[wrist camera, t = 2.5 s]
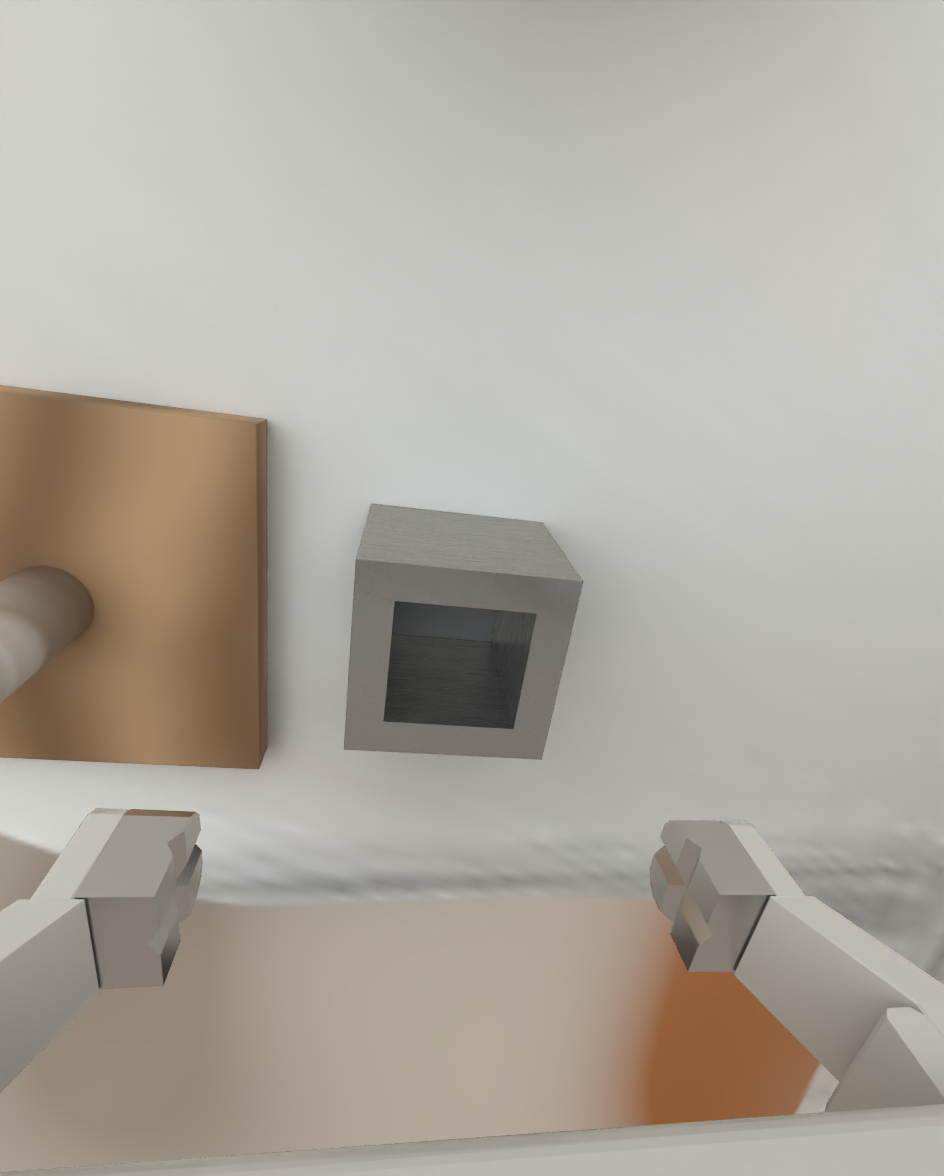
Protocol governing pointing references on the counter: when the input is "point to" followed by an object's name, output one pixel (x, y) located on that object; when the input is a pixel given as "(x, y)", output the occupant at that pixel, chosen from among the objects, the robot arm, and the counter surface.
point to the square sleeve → (450, 666)
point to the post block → (132, 582)
